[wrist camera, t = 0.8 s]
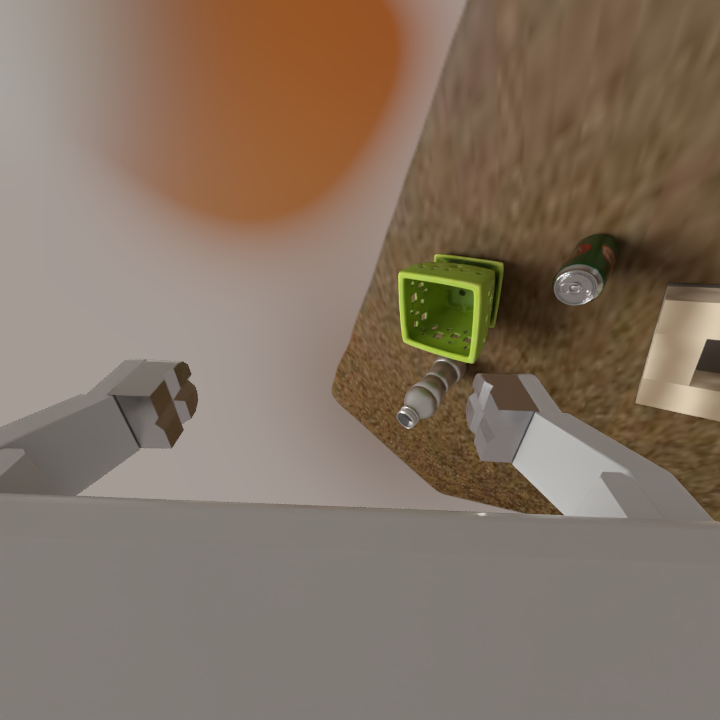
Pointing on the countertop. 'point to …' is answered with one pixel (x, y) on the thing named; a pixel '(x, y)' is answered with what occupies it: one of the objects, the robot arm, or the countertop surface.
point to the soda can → (586, 270)
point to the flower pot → (450, 304)
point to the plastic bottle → (430, 390)
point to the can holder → (685, 353)
